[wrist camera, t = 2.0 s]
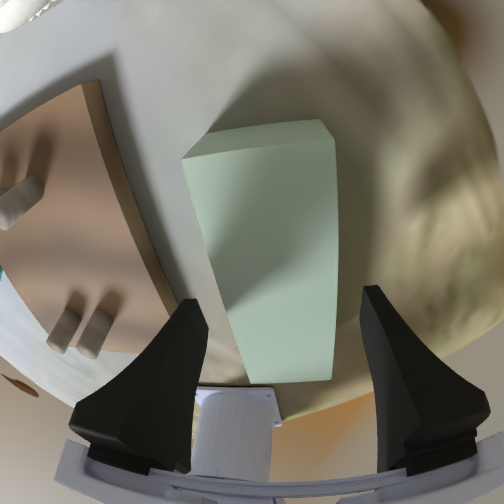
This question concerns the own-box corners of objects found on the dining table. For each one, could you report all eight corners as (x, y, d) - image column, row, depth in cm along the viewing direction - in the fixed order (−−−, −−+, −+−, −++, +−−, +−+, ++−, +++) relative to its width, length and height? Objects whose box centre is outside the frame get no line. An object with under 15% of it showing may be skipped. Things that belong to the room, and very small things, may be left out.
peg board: (194, 339, 21) (181, 392, 17) (63, 332, 23) (43, 369, 20) (98, 79, 11) (35, 96, 7) (-32, 159, 13) (-72, 188, 9)
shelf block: (326, 330, 20) (331, 379, 17) (255, 335, 21) (250, 383, 17) (318, 117, 12) (334, 139, 9) (207, 131, 13) (180, 159, 9)
